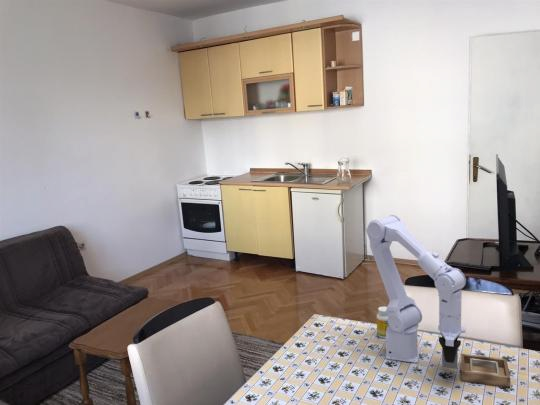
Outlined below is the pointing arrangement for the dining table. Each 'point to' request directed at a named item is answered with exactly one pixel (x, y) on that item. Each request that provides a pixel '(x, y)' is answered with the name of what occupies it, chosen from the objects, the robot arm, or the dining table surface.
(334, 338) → the dining table surface
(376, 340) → the dining table surface
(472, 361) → the box
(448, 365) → the grey rectangular block
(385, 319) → the supplement bottle
